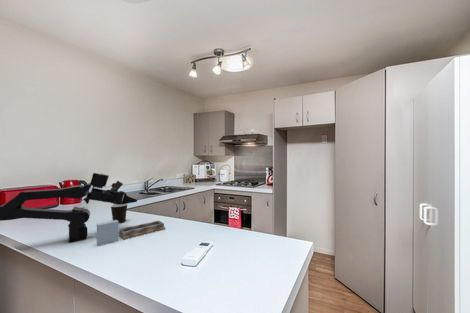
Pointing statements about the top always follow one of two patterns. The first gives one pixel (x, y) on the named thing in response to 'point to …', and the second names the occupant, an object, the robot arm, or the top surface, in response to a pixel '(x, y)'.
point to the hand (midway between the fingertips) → (135, 201)
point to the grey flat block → (107, 232)
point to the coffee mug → (119, 212)
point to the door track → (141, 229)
